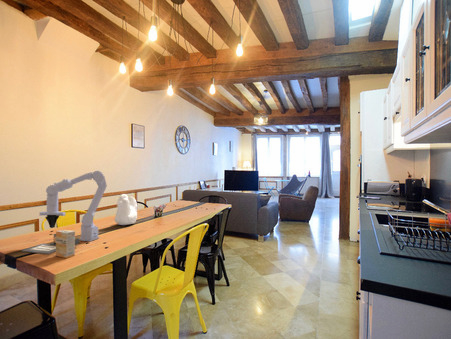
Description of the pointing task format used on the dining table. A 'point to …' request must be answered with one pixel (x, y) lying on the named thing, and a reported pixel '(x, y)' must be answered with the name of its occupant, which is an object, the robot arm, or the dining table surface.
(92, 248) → the dining table surface
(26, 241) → the dining table surface
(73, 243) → the supplement box
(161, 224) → the dining table surface
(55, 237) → the tan wooden bar
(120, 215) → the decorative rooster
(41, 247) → the label plate
